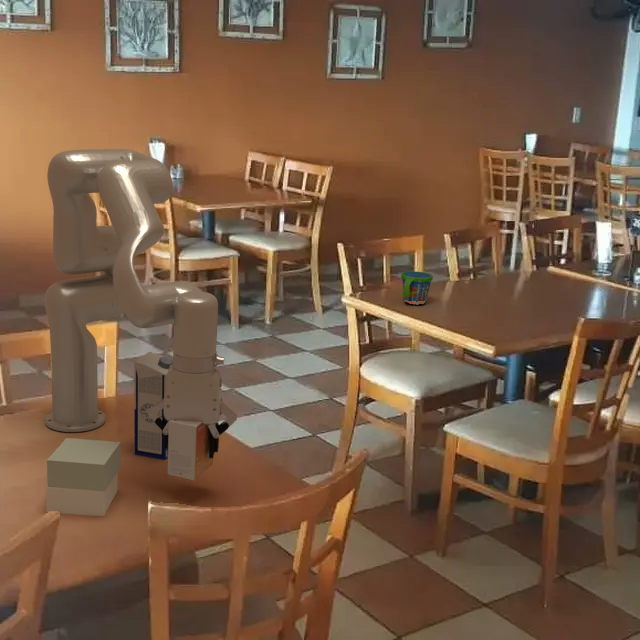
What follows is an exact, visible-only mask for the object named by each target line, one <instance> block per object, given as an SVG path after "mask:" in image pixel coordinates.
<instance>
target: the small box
mask: <svg viewBox="0 0 640 640" xmlns="http://www.w3.org/2000/svg"><path fill="white" fill-rule="evenodd" d="M210 437H211V431H210V429H209V427H208V425H205V424H203V422H199V421H183V420H170V421H169V438H168V458H167V475H169V476H173V477H178V478H182V479H185V480H186V479H187V480H191V481H195V480H196V479H197V478H198V477H200V476H201V475H202V474H203V473H204V472H205V471H207V470H208V469H209V468H211V467H212V466H213V465H214V457H213V458H210V457H209V447H210Z"/></svg>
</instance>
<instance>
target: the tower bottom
mask: <svg viewBox="0 0 640 640" xmlns="http://www.w3.org/2000/svg"><path fill="white" fill-rule="evenodd" d="M118 472H119V471H118ZM118 472H117V474H116V475H115V477H114V478H113V480H112V481H111V482H110V484H109V485H108V487H107V488H106V490H105V491H92V490H80V489H68V488H56V487H48V485H46V488H45V495H46V513H47V512H48V511H58V512H60V513H61V515H62V514H63V515H74V516H75V515H76V516H91V517H93V516H94V517H105V516H106V514H107V512H108V509H109V508H110V506H111V505H112V503H111V502H113V501H112V500H114V499H115V497H116V495H117V493H118V492H119V489H118V488H119V486H118V485H119V482H118V481H119V480H118V479H119V478H118V474H119V473H118ZM106 511H107V512H106ZM105 513H106V514H105Z"/></svg>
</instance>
